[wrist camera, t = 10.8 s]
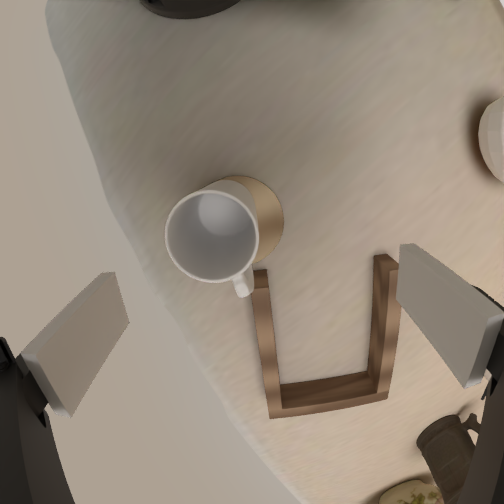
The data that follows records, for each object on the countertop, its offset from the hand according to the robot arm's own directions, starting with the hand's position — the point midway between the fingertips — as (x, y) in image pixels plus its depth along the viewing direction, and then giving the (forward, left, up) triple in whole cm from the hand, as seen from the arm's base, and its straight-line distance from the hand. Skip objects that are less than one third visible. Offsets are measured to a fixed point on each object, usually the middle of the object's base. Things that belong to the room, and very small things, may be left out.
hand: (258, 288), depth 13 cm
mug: (+1, -3, -21) cm, 21 cm away
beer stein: (+47, +34, -21) cm, 62 cm away
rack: (+16, +7, -21) cm, 28 cm away
